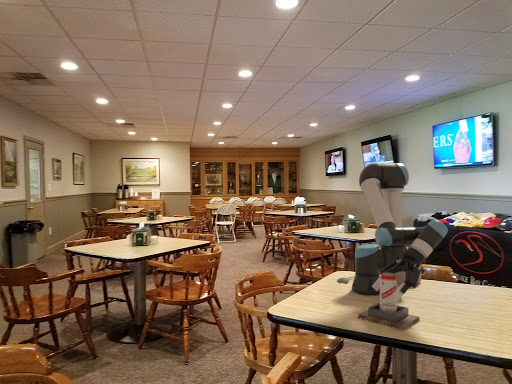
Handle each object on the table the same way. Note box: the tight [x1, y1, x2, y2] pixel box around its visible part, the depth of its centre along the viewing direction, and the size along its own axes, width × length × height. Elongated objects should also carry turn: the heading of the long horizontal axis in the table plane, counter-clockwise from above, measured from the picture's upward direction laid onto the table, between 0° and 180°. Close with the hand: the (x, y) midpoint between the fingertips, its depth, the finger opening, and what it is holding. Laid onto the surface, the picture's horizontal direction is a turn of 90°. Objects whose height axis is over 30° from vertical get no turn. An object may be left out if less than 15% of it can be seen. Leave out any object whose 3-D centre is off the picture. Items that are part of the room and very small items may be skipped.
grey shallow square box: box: [367, 302, 409, 323], centre depth 134 cm, size 11×11×3 cm
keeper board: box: [357, 309, 420, 331], centre depth 134 cm, size 18×14×2 cm
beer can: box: [379, 273, 398, 313], centre depth 134 cm, size 6×6×16 cm
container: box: [395, 271, 422, 285], centre depth 193 cm, size 18×18×12 cm
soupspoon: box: [336, 275, 355, 284], centre depth 197 cm, size 22×3×7 cm
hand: (384, 293), depth 133 cm, fingers open, 13 cm apart
